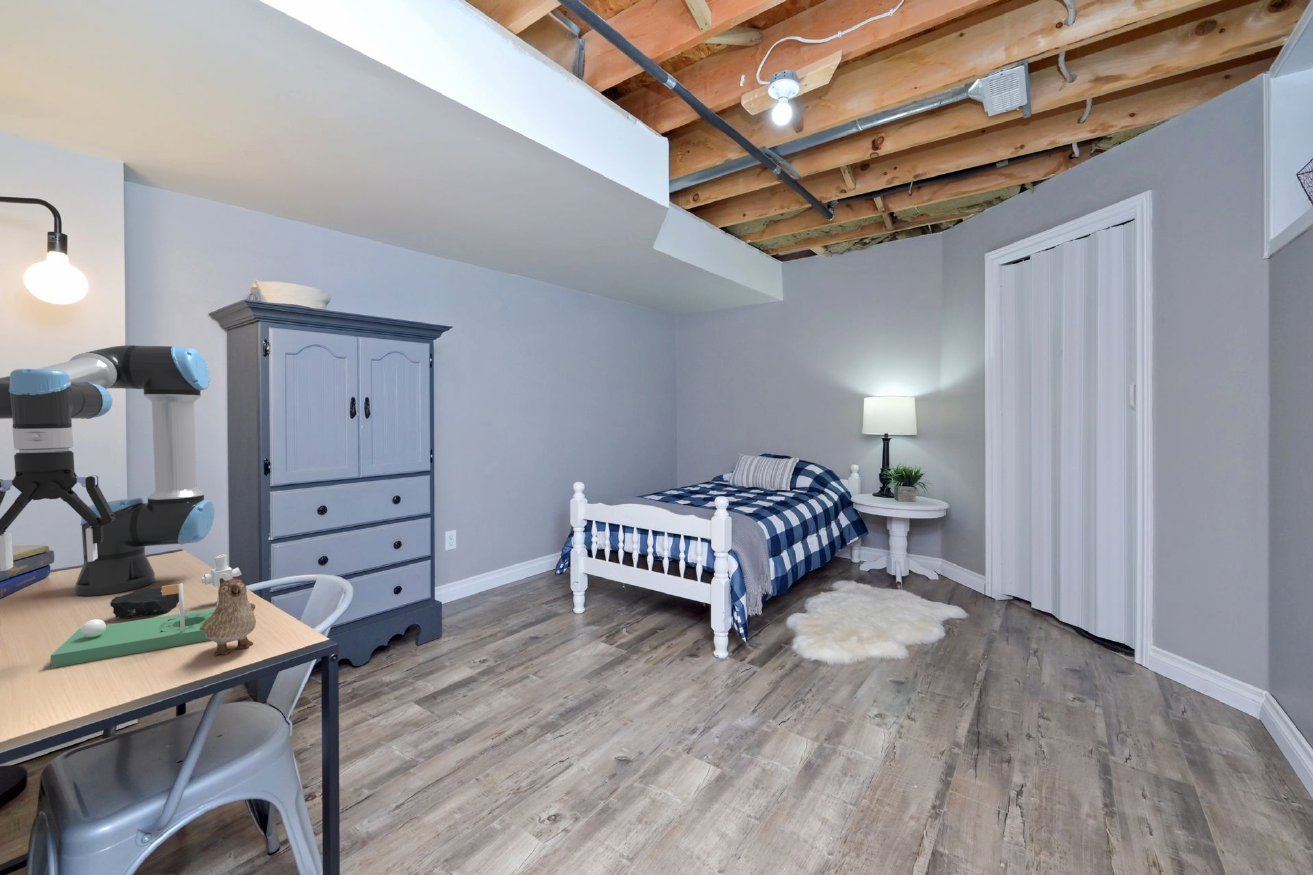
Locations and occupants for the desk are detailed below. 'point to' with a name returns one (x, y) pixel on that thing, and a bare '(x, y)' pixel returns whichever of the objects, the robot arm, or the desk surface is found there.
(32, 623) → the desk surface
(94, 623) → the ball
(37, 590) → the desk surface
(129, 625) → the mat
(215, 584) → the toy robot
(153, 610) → the rock
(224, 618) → the figurine
